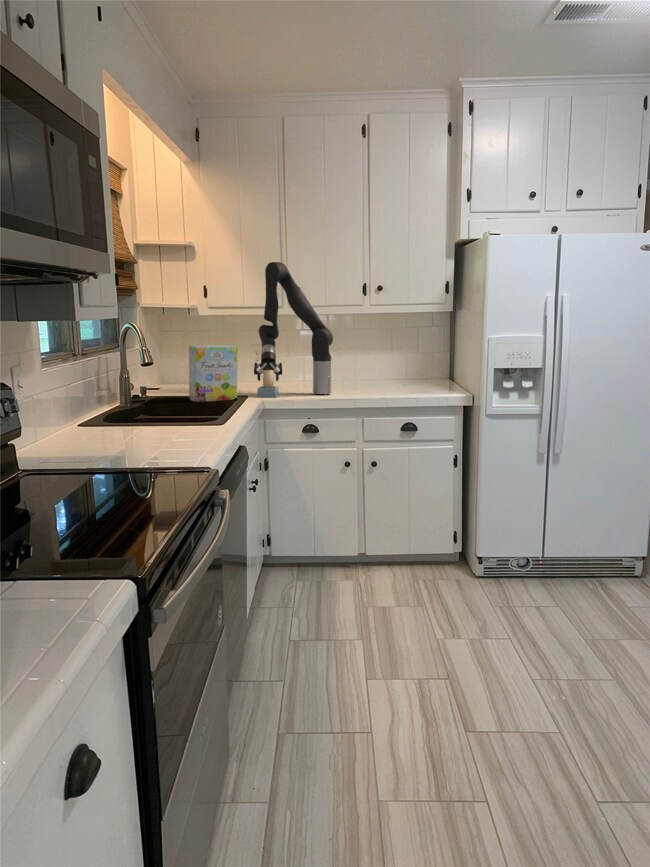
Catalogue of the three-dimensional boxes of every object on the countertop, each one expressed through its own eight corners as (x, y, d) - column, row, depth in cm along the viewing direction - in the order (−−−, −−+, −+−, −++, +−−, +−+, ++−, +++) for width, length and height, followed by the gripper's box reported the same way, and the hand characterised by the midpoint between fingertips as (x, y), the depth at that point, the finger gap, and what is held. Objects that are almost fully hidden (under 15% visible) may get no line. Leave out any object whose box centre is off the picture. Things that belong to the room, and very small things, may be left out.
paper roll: (274, 393, 312) (274, 369, 310) (272, 395, 307) (272, 370, 305) (264, 393, 313) (264, 369, 310) (262, 394, 308) (261, 370, 305)
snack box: (195, 402, 285) (194, 346, 280) (188, 400, 292) (187, 345, 287) (238, 399, 297) (237, 345, 292) (231, 397, 304) (230, 344, 299)
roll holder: (279, 395, 314) (279, 386, 313) (276, 397, 305) (276, 388, 304) (260, 395, 315) (260, 386, 314) (256, 397, 306) (256, 388, 305)
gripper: (254, 350, 314) (253, 375, 305) (282, 350, 315) (282, 375, 306) (254, 360, 320) (254, 384, 311) (282, 360, 321) (282, 384, 312)
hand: (268, 380), depth 308 cm, fingers open, 8 cm apart
